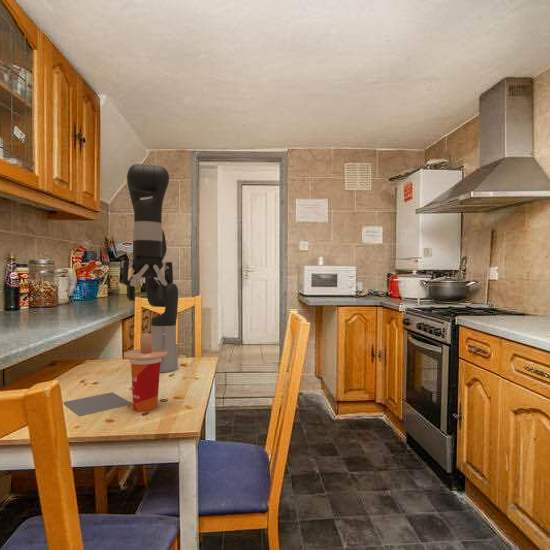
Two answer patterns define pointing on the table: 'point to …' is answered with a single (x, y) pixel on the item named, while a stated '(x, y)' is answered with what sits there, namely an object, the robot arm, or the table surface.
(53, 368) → the table surface
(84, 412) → the mat
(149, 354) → the lid
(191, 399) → the table surface
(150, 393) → the coffee cup
